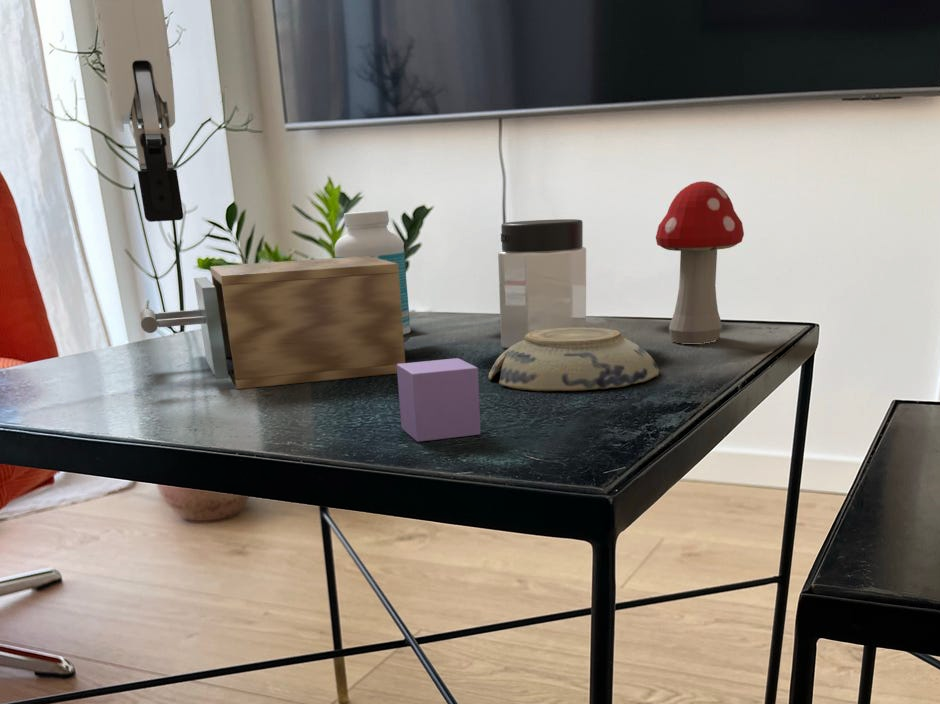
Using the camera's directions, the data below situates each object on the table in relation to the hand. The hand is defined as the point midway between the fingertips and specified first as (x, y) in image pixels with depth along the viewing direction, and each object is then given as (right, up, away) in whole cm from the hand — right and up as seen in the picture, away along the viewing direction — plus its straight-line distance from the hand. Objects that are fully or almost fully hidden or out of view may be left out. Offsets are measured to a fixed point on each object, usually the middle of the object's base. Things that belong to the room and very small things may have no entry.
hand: (164, 219), depth 89 cm
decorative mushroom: (+50, -6, +16) cm, 53 cm away
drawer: (+7, -11, +7) cm, 15 cm away
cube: (+25, -22, -17) cm, 38 cm away
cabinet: (+12, -11, +9) cm, 18 cm away
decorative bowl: (+36, -14, +1) cm, 39 cm away
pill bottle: (+16, -4, +23) cm, 29 cm away
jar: (+34, -6, +17) cm, 39 cm away
